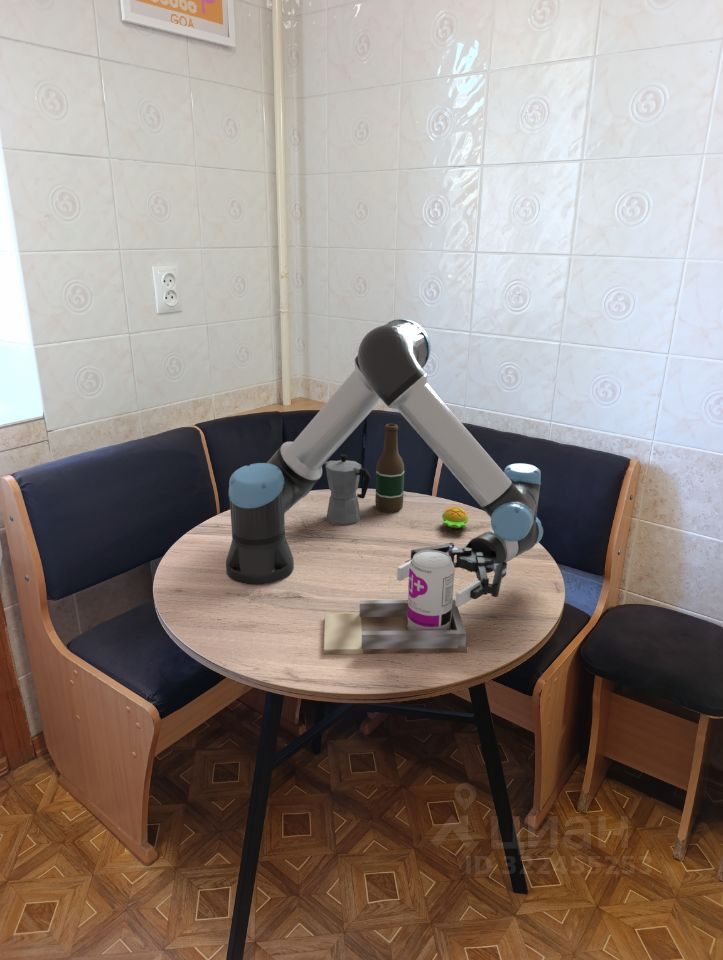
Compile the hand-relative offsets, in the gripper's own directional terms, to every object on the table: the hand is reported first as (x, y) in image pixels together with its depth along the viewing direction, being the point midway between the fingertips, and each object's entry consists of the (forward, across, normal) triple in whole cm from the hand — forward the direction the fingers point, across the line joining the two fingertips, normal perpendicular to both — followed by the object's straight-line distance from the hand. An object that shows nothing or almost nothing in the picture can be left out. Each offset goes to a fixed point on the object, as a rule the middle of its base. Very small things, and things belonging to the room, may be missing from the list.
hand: (426, 586), depth 121 cm
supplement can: (-1, 0, -10) cm, 10 cm away
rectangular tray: (+3, +5, -11) cm, 12 cm away
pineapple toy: (-45, +26, -11) cm, 53 cm away
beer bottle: (-44, +47, -11) cm, 65 cm away
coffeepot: (-30, +50, -11) cm, 59 cm away
